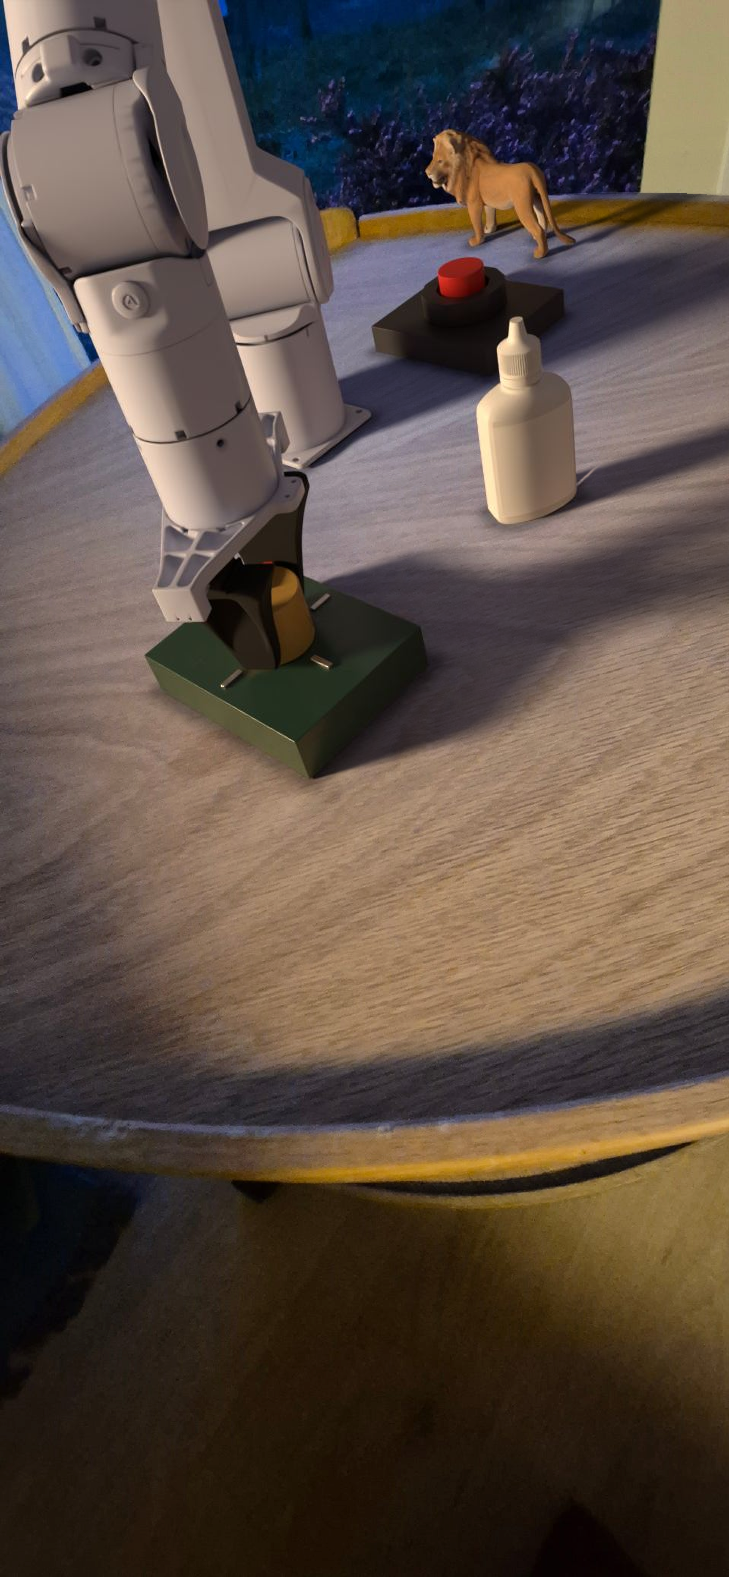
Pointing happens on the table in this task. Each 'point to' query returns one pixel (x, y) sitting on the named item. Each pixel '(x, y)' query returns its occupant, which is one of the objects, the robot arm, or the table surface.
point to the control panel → (298, 679)
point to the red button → (461, 277)
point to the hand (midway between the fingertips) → (274, 634)
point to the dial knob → (290, 614)
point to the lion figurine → (492, 187)
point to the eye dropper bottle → (526, 434)
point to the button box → (466, 323)
